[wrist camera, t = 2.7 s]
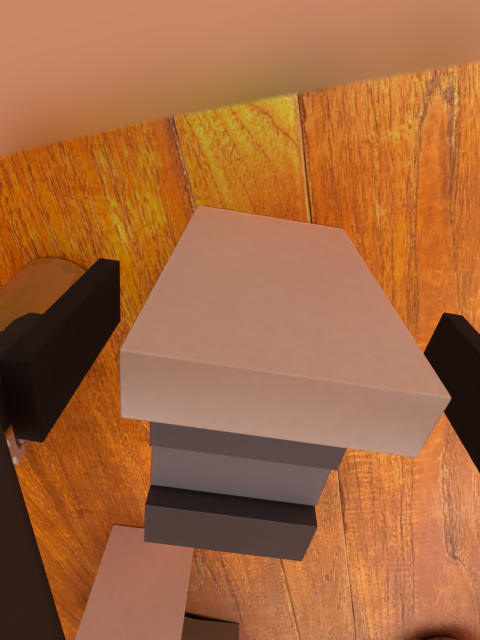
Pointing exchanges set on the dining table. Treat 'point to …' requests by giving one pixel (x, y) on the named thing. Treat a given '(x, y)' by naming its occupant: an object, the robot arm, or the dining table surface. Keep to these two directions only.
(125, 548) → the white books
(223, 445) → the grey books
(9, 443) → the pale rounded piece
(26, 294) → the vase
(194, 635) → the book
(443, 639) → the fruit
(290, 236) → the white book
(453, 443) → the dining table surface
